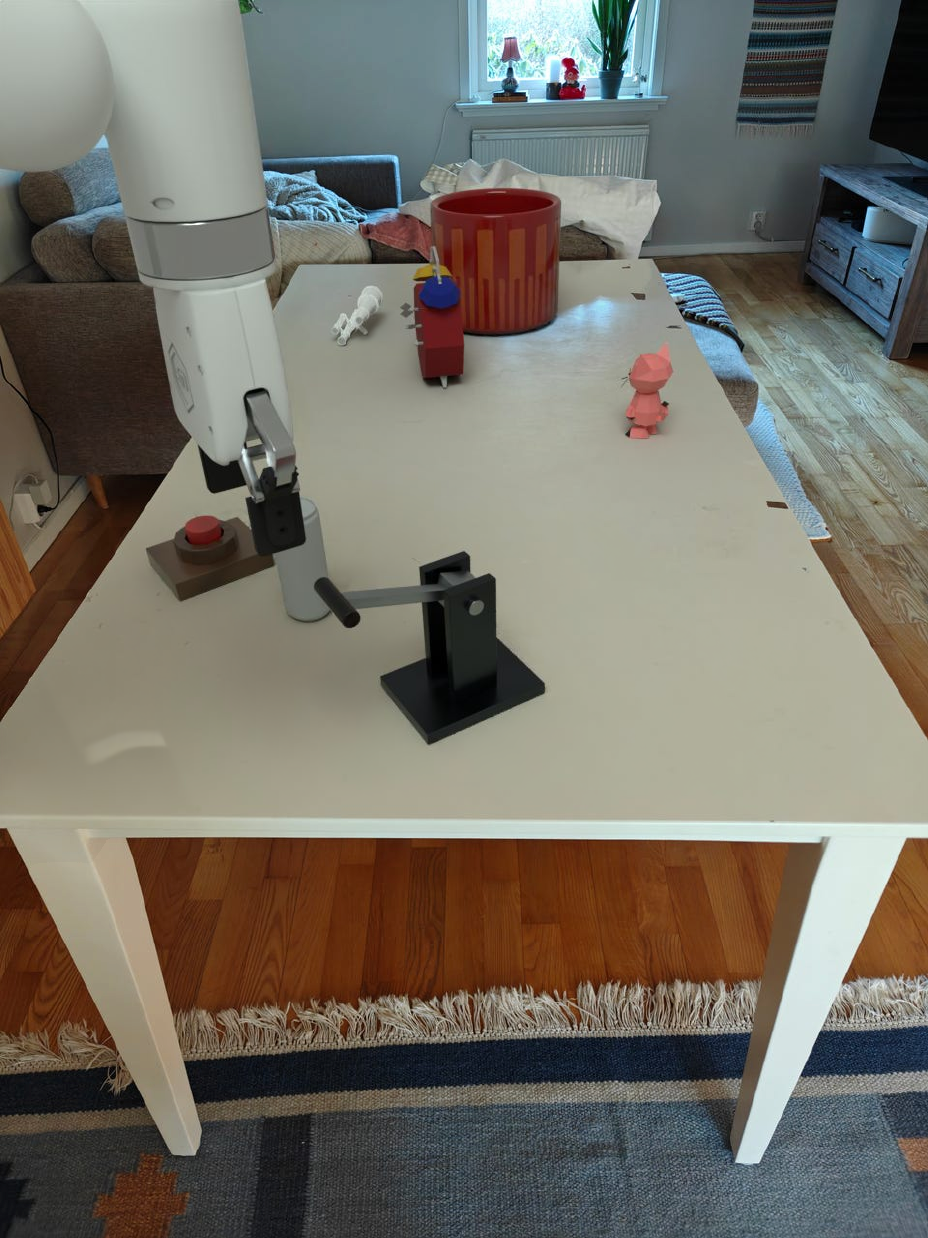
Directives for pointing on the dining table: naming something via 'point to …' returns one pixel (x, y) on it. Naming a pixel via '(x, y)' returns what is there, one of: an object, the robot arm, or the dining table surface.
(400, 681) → the bracket
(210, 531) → the button
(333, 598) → the lever
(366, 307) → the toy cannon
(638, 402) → the cat figurine
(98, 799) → the dining table surface
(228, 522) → the button block
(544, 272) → the planter
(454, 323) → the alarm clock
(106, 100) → the robot arm
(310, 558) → the beverage can
